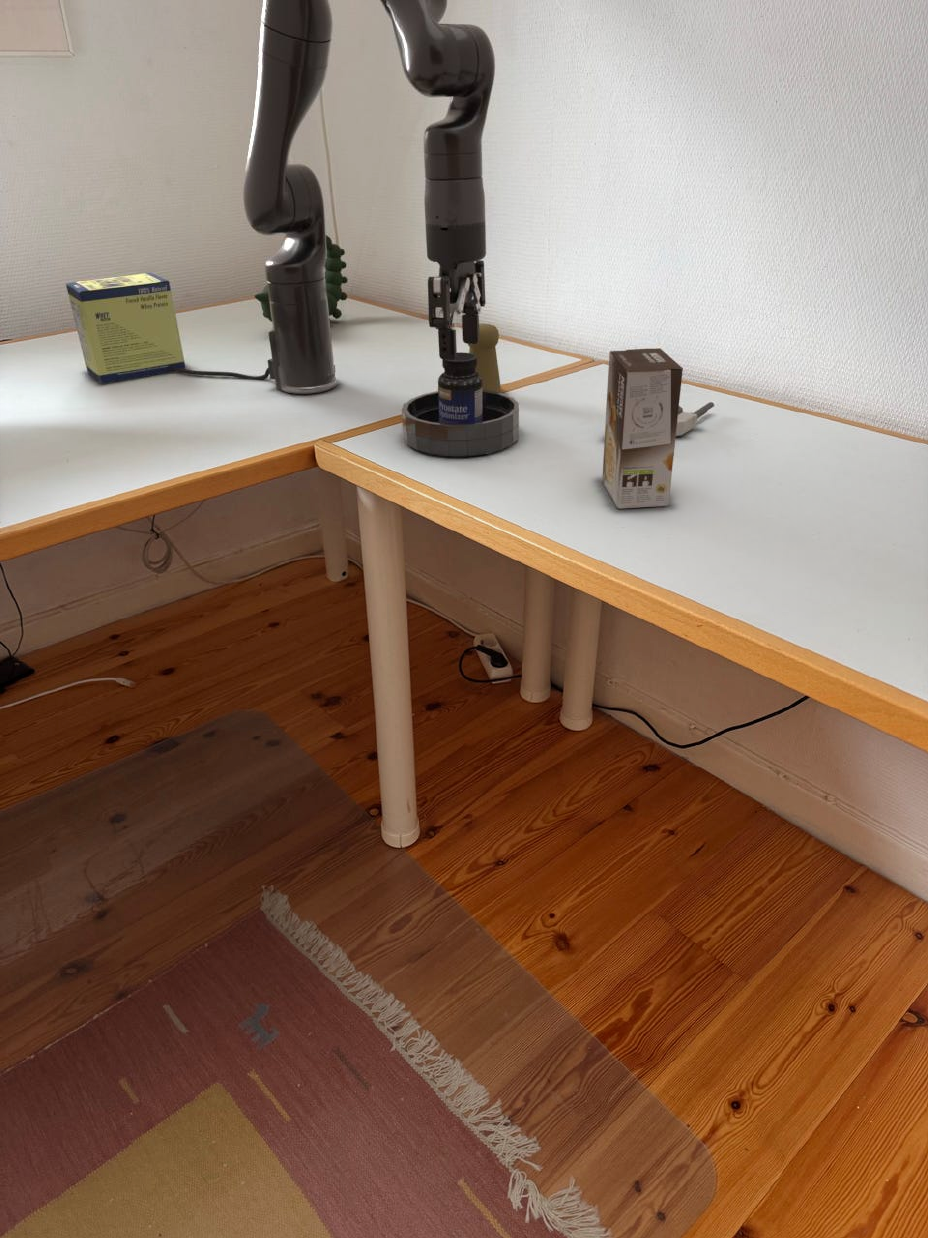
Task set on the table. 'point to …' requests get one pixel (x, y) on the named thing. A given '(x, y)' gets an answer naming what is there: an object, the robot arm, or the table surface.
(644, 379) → the coffee box
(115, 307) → the protein box
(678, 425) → the walkie-talkie
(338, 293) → the toy figurine
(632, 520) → the table surface
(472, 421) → the pill bottle
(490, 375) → the olive brown knobbed cylinder
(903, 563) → the table surface
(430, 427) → the pan
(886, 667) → the table surface
